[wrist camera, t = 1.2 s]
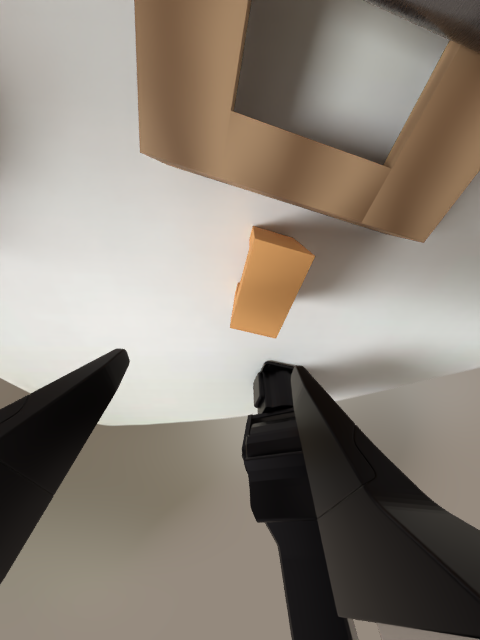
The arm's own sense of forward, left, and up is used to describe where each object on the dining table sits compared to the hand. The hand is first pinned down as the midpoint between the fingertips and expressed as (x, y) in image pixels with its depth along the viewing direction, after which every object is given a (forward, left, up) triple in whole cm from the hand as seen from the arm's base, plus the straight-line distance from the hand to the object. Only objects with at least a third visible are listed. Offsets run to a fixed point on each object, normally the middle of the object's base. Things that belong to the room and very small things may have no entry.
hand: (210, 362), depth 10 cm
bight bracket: (-3, -2, -12) cm, 13 cm away
